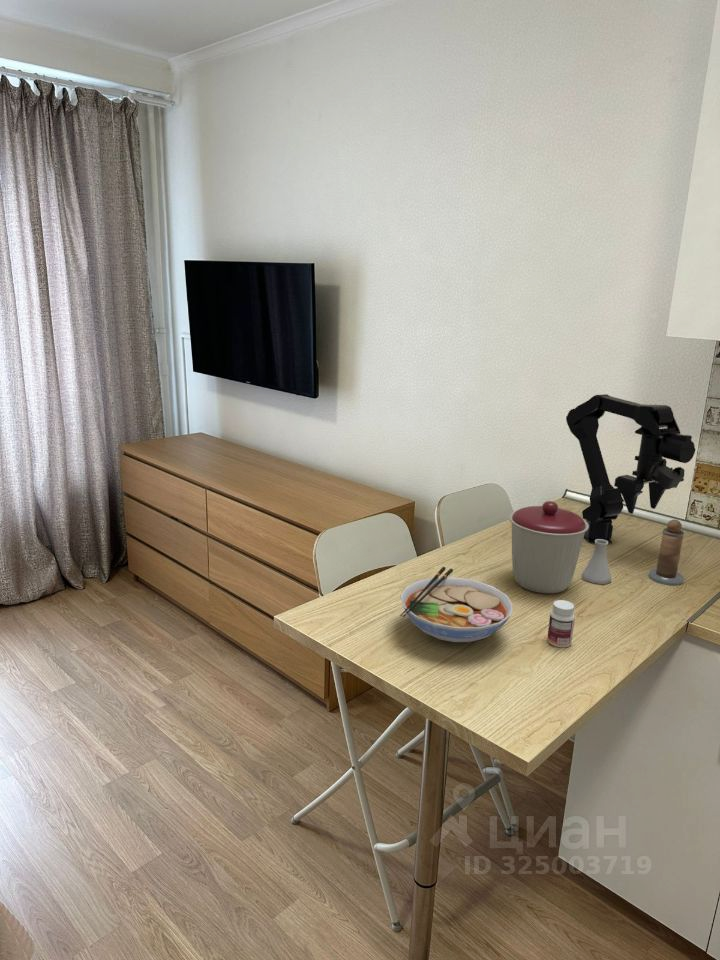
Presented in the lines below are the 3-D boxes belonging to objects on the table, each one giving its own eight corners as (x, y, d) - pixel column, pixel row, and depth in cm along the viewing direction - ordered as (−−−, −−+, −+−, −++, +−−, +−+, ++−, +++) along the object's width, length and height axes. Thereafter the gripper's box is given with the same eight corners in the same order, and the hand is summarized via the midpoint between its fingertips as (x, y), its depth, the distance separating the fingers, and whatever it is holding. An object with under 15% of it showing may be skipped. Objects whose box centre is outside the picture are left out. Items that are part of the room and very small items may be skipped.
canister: (550, 565, 172) (559, 487, 166) (596, 595, 156) (608, 510, 150) (488, 573, 166) (496, 493, 160) (530, 606, 150) (540, 517, 144)
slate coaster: (657, 584, 163) (657, 581, 162) (643, 571, 170) (643, 567, 170) (689, 585, 163) (690, 581, 163) (673, 572, 170) (674, 568, 170)
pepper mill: (661, 578, 164) (670, 522, 160) (652, 570, 169) (661, 516, 164) (679, 578, 164) (689, 523, 160) (670, 570, 169) (680, 516, 165)
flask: (606, 587, 160) (611, 549, 157) (576, 579, 164) (581, 541, 162) (615, 578, 166) (621, 540, 163) (586, 570, 170) (591, 533, 167)
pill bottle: (552, 633, 138) (557, 596, 136) (574, 641, 135) (580, 604, 133) (542, 642, 134) (547, 604, 132) (565, 650, 132) (570, 612, 129)
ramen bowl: (487, 678, 121) (491, 638, 119) (376, 644, 132) (378, 606, 129) (525, 622, 142) (529, 587, 140) (426, 596, 153) (429, 563, 150)
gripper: (655, 465, 161) (645, 525, 165) (701, 457, 170) (691, 514, 174) (617, 454, 170) (608, 512, 174) (662, 447, 179) (653, 502, 183)
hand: (641, 510), depth 176 cm, fingers open, 9 cm apart
